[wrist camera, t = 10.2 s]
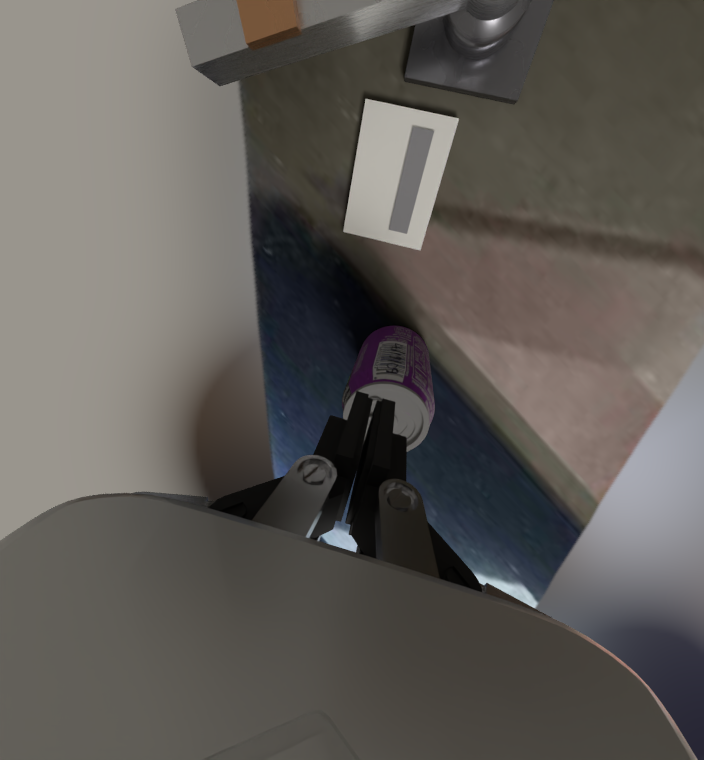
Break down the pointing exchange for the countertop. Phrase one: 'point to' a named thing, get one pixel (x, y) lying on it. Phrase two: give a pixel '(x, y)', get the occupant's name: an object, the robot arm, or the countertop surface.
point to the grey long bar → (300, 29)
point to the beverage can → (395, 380)
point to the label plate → (397, 172)
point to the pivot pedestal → (478, 51)
